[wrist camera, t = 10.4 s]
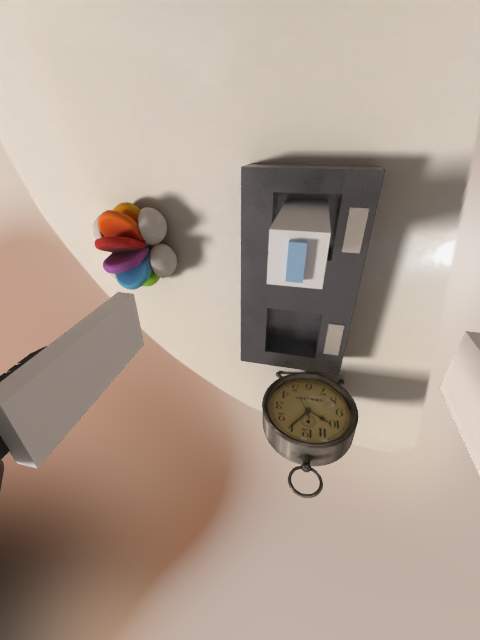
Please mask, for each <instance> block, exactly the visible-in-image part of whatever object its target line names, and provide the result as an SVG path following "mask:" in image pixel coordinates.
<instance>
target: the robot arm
mask: <svg viewBox="0 0 480 640" xmlns="http://www.w3.org/2000/svg"><path fill="white" fill-rule="evenodd" d="M143 345H144V342H143V337H142V333H141V327H140V322H139V317H138V313H137V308H136V303H135V298H134V294H130V293H121V292H118V293H116V294H115V295H114V296H113V297H111V298H110V299H109V300H107V301H106V302H105V303H103V304H102V305H101V306H99V307H98V308H97V309H96V310H94V311H93V312H92V313H90V314H89V315H88V316H86V317H85V318H84V319H82V320H81V321H80V322H79V323H77V324H76V325H75V326H73V327H72V328H71V329H69V330H68V331H67V332H65V333H64V334H63V335H61V336H60V337H59V338H58V339H56V340H55V341H54V342H52V343H51V344H50V345H49V346H45V347H43V348H41V349H39V350H37V351H35V352H33V353H31V354H29V355H28V356H27V357H25V358H24V359H23V360H21V361H20V362H18V365H14V366H13V367H12V368H10V369H9V370H8V371H7V373H4V374H2V375H1V376H0V490H1V483H2V478H3V472H4V464H3V461H2V460H1V459H2V458H3V457H4V456H5V455H6V454H7V453H8V452H9V451H10V453H11V455H12V456H13V458H14V460H15V461H16V463H18V464H22V465H26V466H30V467H33V468H38V467H39V466H40V465H41V464H42V463H43V462H44V460H45V459H46V458H47V457H48V456H49V455H50V453H51V452H52V451H53V450H54V449H55V448H56V446H57V445H58V444H59V443H60V442H61V441H62V439H63V438H64V437H65V436H66V435H67V434H68V432H69V431H70V430H71V429H72V428H73V426H75V424H76V423H77V422H78V421H79V420H80V419H81V417H82V416H83V415H84V414H85V413H86V412H87V410H88V409H89V408H90V407H91V406H92V405H93V403H94V402H95V401H96V400H97V399H98V398H99V396H100V395H101V394H102V393H103V392H104V391H105V389H106V388H107V387H108V386H109V385H110V383H111V382H112V381H113V380H114V379H115V378H116V377H117V375H118V374H119V373H120V372H121V371H122V370H123V368H124V367H125V366H126V365H127V363H129V361H130V360H131V359H132V358H133V357H134V355H135V354H136V353H137V352H138V351H139V350H140V349H141V347H142V346H143ZM439 389H440V391H441V393H442V395H443V398H444V400H445V402H446V404H447V406H448V408H449V410H450V413H451V415H452V417H453V419H454V421H455V424H456V425H457V428H458V430H459V432H460V434H461V436H462V439H463V441H464V443H465V445H466V447H467V449H468V452H469V454H470V456H471V458H472V460H473V462H474V465H475V467H476V469H477V471H478V473H479V475H480V333H476V332H467V331H466V332H465V334H464V336H463V338H462V340H461V342H460V344H459V347H458V349H457V351H456V353H455V355H454V357H453V359H452V362H451V364H450V366H449V368H448V370H447V372H446V374H445V377H444V379H443V381H442V383H441V385H440V387H439Z"/></svg>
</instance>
